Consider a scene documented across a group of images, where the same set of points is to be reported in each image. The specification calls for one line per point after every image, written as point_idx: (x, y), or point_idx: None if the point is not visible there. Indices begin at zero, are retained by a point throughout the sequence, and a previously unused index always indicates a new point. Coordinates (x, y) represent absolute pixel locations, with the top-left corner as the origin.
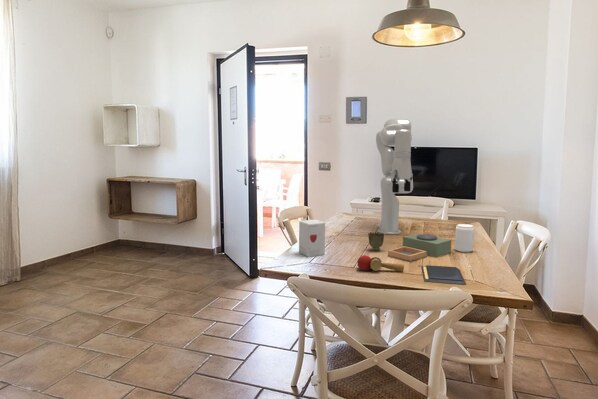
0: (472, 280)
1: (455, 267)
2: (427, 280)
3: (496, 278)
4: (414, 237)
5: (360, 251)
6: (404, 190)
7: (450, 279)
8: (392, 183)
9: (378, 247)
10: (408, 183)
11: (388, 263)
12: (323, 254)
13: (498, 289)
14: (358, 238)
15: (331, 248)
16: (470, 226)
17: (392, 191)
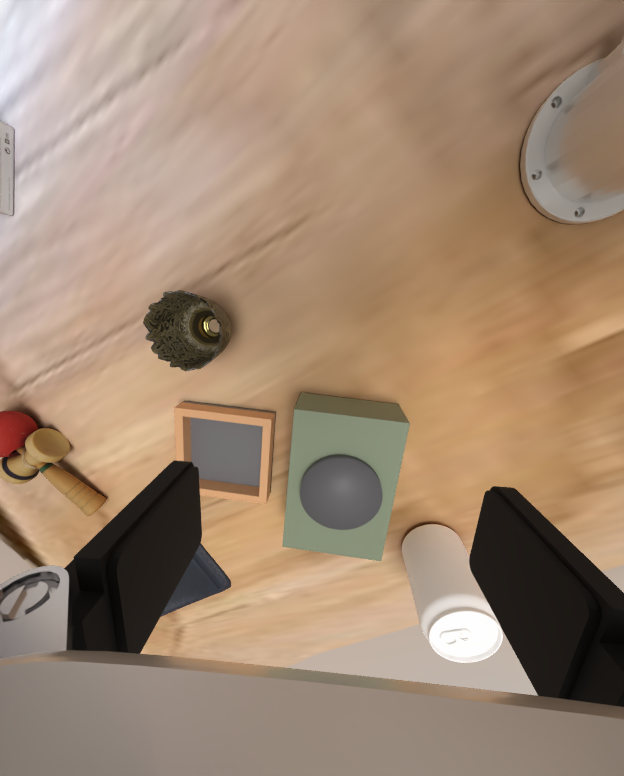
0: (178, 624)
1: (213, 589)
2: None
3: (229, 652)
4: (319, 449)
5: (156, 291)
6: (486, 498)
7: None
8: (26, 585)
9: (204, 343)
10: (555, 697)
11: (56, 486)
12: (6, 213)
13: None
14: (333, 115)
15: (91, 161)
16: (469, 650)
17: (172, 463)
